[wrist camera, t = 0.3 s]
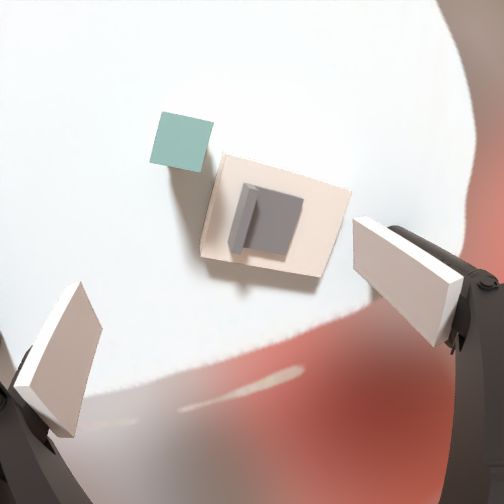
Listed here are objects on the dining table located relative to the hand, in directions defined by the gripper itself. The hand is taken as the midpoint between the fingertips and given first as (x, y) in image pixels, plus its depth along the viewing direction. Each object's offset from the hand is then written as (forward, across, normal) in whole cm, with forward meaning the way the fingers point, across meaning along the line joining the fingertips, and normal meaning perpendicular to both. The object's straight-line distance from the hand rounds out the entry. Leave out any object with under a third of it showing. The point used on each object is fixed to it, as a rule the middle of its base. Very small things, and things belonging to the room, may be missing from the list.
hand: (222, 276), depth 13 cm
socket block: (+24, +8, -6) cm, 26 cm away
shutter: (+20, +6, -5) cm, 22 cm away
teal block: (+24, -1, +6) cm, 25 cm away
